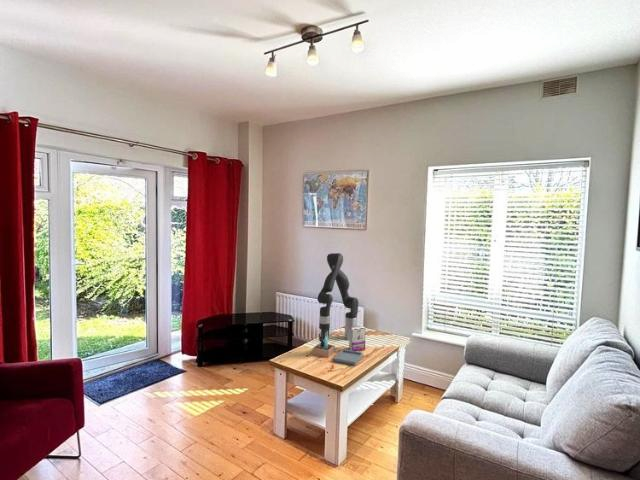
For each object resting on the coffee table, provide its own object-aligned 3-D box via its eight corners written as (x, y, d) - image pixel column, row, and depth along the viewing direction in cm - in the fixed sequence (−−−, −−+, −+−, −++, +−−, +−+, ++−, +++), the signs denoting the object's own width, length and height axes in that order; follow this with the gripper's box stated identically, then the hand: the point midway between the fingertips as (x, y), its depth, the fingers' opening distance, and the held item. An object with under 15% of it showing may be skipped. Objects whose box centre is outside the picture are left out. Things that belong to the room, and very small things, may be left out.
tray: (342, 352, 243) (342, 349, 243) (362, 356, 237) (363, 352, 237) (333, 361, 226) (333, 358, 226) (354, 365, 220) (355, 362, 220)
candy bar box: (362, 347, 253) (362, 325, 252) (365, 349, 249) (366, 327, 248) (348, 349, 249) (349, 327, 248) (351, 351, 244) (352, 329, 244)
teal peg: (322, 351, 244) (322, 334, 244) (328, 352, 242) (328, 335, 242) (319, 353, 240) (319, 336, 239) (325, 354, 238) (326, 337, 237)
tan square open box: (319, 348, 249) (319, 342, 249) (334, 351, 244) (335, 345, 244) (312, 354, 238) (312, 348, 238) (328, 357, 233) (328, 351, 233)
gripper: (323, 318, 248) (323, 341, 249) (315, 323, 235) (314, 348, 236) (333, 320, 245) (332, 343, 246) (325, 325, 232) (324, 349, 233)
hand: (324, 345), depth 241 cm, fingers closed on teal peg, 5 cm apart
